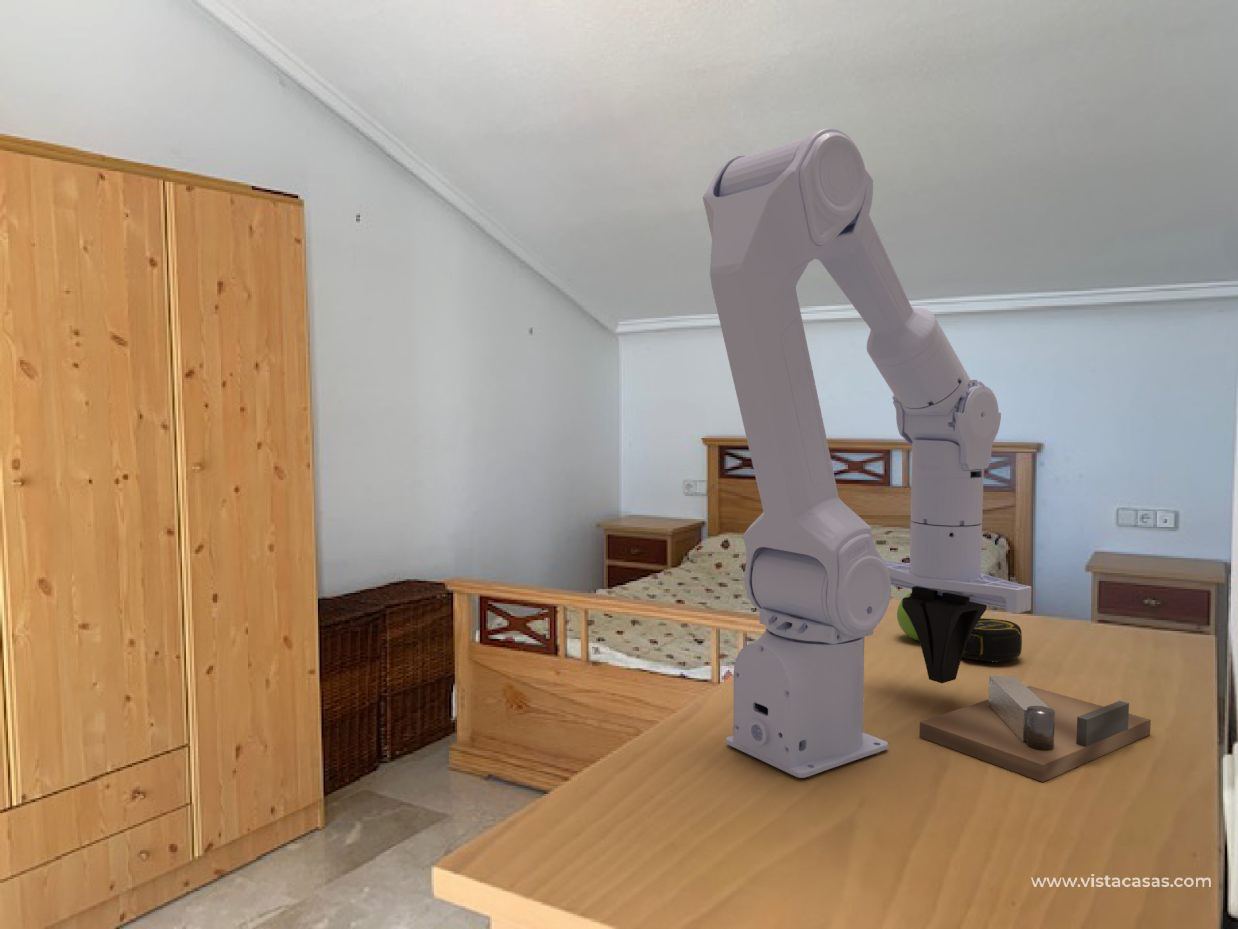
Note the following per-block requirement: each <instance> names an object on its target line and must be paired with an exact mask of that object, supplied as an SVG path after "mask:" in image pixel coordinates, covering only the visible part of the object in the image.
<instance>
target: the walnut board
mask: <svg viewBox="0 0 1238 929" xmlns="http://www.w3.org/2000/svg"><path fill="white" fill-rule="evenodd" d="M1026 687H1027V688H1028V689H1029V690H1030V691H1032V692H1033V693H1034V694H1035V695H1036V696H1037V697H1038V698H1039V699H1040V700H1042V701H1043V702H1044V703H1045V704H1046V705H1047V706H1048V707H1049V708H1051V709H1053V710H1054V711H1055V728H1054V748H1053V749H1051V750H1038V749H1034V748H1031V747H1029V746H1028V745H1027V744H1026V742H1022V740H1021V739H1020V738H1019V737H1018V736H1017V735H1016V734H1015V733H1014V732H1013V731H1012V730H1011V729H1010V727H1009V726H1008V725H1007V724H1006V723H1005V722H1004V721H1003V720H1002V719H1001V718H1000V717H999V716H998V714H997V713H996V712H995V711H994V710H993V709H992V708H991V707H990V706H989V698H988V699H985V700H983V701H979V702H977V703H973V704H971V705H967V706H963V707H961V708H959V709H955V710H952V711H949V712H946V713H943V714H939V715H937V716H934V717H931V718H928V719H925V720H921V721H919V738H921V739H924V740H926V741H929V742H932V743H934V744H937V745H940V746H943V747H946V748H949V749H951V750H954V751H956V752H960V753H962V754H964V755H968V756H970V757H973V758H976V759H978V760H982V761H983V762H987V763H989V764H992V765H994V766H998V767H1000V768H1002V769H1005V770H1009V771H1011V772H1014V773H1017V774H1020V775H1023V776H1025V777H1028V778H1030V779H1033V780H1036V781H1038V782H1041V783H1044V782H1047V781H1049V780H1051V779H1053V778H1055V777H1057V776H1061V775H1062V774H1065V773H1067V772H1069V771H1071V770H1074V769H1076V768H1078V767H1081V766H1083V765H1085V764H1087V763H1089V762H1092V761H1093V760H1094V761H1095V760H1097V759H1098V758H1100V757H1103V756H1105V755H1108V754H1109V753H1113V752H1114V751H1116V750H1118V749H1121V748H1123V747H1125V746H1128V745H1130V744H1132V743H1134V742H1136V741H1139V740H1142V739H1143V738H1146V737H1148V736H1151V722H1152V720H1151V719H1150V718H1148V717H1147V718H1146V717H1142V716H1139V715H1135V714H1132V713H1129V711H1130V703H1129V702H1125V701H1122V700H1118V701H1116V702H1113V703H1110V704H1107V705H1104V706H1103V705H1099V704H1095V703H1092V702H1090V701H1089V702H1088V701H1085V700H1081V699H1078V698H1074V697H1070V696H1067V695H1063V694H1061V693H1057V692H1052V691H1050V690H1045V689H1042V688H1039V687H1035V686H1031V685H1028V686H1026Z"/></svg>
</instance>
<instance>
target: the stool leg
mask: <svg viewBox="0 0 1238 929" xmlns="http://www.w3.org/2000/svg"><path fill="white" fill-rule="evenodd" d="M988 677H989V678H988V679H989V680H988V699H989V706H990V707H991V708H992V709H993V710H994V711H995V712H996V713H997V714H998V716H999V717H1000V718H1001V719H1002V720H1003V721H1004V722H1005V723H1006V724H1007V725H1008V726H1009V727H1010V729H1011V730H1012V731H1013V732H1014V733H1015V734H1016V735H1017V736H1018V737H1019V738H1020V739H1021V740H1022V742H1026V744H1027V745H1028V746H1029V747H1031V748H1034V749H1038V750H1051V749H1053V748H1054V728H1055V711H1054V710H1053V709H1051V708H1049V707H1048V706H1047V705H1046V704H1045V703H1044V702H1043V701H1042V700H1040V699H1039V698H1038V697H1037V696H1036V695H1035V694H1034V693H1033V692H1032V691H1030V690H1029V689H1028V688H1027V687H1028V686H1026V685H1025V684H1024V683H1023V682H1021V680H1019V679H1018V678H1017V677H1016V676H1007V675H1004V676H1003V675H989V676H988Z"/></svg>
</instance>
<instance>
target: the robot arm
mask: <svg viewBox="0 0 1238 929" xmlns="http://www.w3.org/2000/svg"><path fill="white" fill-rule="evenodd" d="M873 195H874V180H873V178H872V176H871V174H870V173H869V172H868V171H867V169H866V166H865V162H864V159H863V157H862V155H861V152H860V150H859V148H858V146H857V145H856V143H855V142H854V140H853V139H851V137H849V135H847V133H845V132H844V131H842V130H840V129H838V128H831V127H826V128H822V129H819V130H817V131H815V132H814V133H812V134H809V135H807V136H805V137H801V138H799V139H795V140H793V141H789V142H786V143H782V144H779V145H776V146H773V147H770V148H766V149H763V150H761V151H757V152H754V153H750V154H748V155H737V156H733V157H732V158H730V159H728V160H726V161H725V162H724V163H723V164H722V165H721V166H720V167H719V169H718V170H717V172H716V174H715V175H714V177H713V178H712V181H711V182H710V184H709V185H708V188H707V189H706V191H705V193H704V194H703V196H702V199H703V205H704V210H705V215H706V218H707V223H708V226H709V230H710V236H711V248H710V250H711V251H710V252H711V254H710V265H709V276H710V277H709V278H710V284H711V289H712V290H711V291H712V294H713V298H714V302H715V306H716V311H717V314H718V315H717V316H718V319H719V320H718V321H719V323H720V324H719V325H720V328H721V332H722V338H723V340H724V341H723V342H724V345H725V349H726V354H727V358H728V363H729V367H730V372H731V376H732V380H733V384H734V390H735V393H736V398H737V403H738V406H739V411H740V415H741V419H742V424H743V428H744V433H745V436H746V442H747V446H748V450H749V451H748V452H749V454H750V459H751V464H752V467H753V471H754V477H755V481H756V484H757V490H758V494H759V498H760V503H761V506H762V511H763V512H762V513H761V514H760V515H759V516H758V517H757V518H756V519H755V520H754V521H753V522H752V523H751V524H750V525H749V526H748V528H746V531H745V532H744V533H743V536H742V537H743V543H744V547H745V553H746V555H745V557H746V560H745V569H744V580H743V581H744V587H745V592H746V595H747V598H748V599H749V602H750V604H752V605H753V607H754V608H755V609H757V610H758V611H759V624H761V625H763V626H765V627H766V629H764V632H763V633H762V635H761V636H760V637H759V638H758V639H756V640H755V641H753V642H750V643H748V644H746V645H745V646H743V647H742V648H741V649H740V651H739V652H738V654H737V656H736V658H735V662H734V667H733V719H732V720H733V723H732V724H733V728H732V730H733V732H732V735H728V736H727V737H726V738H725V743H726V745H728V746H729V747H732V748H734V749H736V750H738V751H740V752H742V753H745V754H747V755H748V756H751V757H753V758H755V759H757V760H760V761H761V762H764V763H766V764H768V765H770V766H773V767H774V768H777V769H779V770H781V771H782V772H785V773H787V774H789V775H791V776H794V777H796V778H799V779H804V778H808V777H811V776H814V775H816V774H819V773H823V772H825V771H828V770H830V769H834V768H836V767H840V766H842V765H846V764H848V763H851V762H854V761H856V760H857V761H858V760H860V759H863V758H865V757H869V756H871V755H875V754H878V753H880V752H883V751H886V750H888V749H889V742H888V741H886V740H884V739H881V738H878V737H876V736H874V735H870V734H868V733H866V732H864V694H865V693H864V691H865V690H864V682H865V680H864V679H865V675H864V674H865V638H867V637H870V636H873V635H874V630H875V629H876V628H877V627H878V625H879V624H880V623H881V621H882V620H883V618H884V617H885V614H886V613H887V611H888V608H889V604H890V601H891V597H892V596H891V593H892V586H894V587H899V588H902V589H908V590H911V592H910V593H911V594H910V593H909V594H910V597H906V598H904V597H903V598H902V599H901V601H902V607H903V609H904V610H905V612H906V613H907V615H908V617H909V619H910V621H911V623H912V625H913V627H914V629H915V631H916V634H917V636H918V639H919V641H918V642H919V644H920V647H921V653H922V655H923V659H924V663H925V667H926V671H927V673H926V674H927V676H928V680H929V681H933V682H937V683H940V684H945V683H949V682H952V681H955V680H956V679H957V676H958V671H959V668H960V665H961V661H962V657H963V656H962V655H963V652H964V649H965V647H966V644H967V642H968V640H969V637H970V635H971V633H972V631H973V629H974V628H975V626H976V624H977V623H978V621H979V619H980V618H981V617H982V616H983V615H984V613H985V612H986V610H987V607H988V606H989V607H995V608H1000V609H1005V612H1008V613H1012V614H1020V613H1024V612H1028V611H1031V610H1032V586H1030V585H1025V584H1021V583H1017V582H1013V581H1009V580H1006V579H1002V578H998V577H995V576H991V575H988V574H985V573H982V545H983V544H982V542H983V539H982V538H983V537H982V536H983V514H984V513H983V509H984V508H983V507H984V506H983V505H984V504H983V503H984V474H985V473H984V470H986V469H988V468H989V467H990V462H992V450H993V449H992V448H993V444H994V442H995V440H996V437H997V435H998V432H999V430H1000V425H1001V419H1002V413H1001V412H999V404H998V400H997V397H996V395H995V393H994V392H993V390H992V389H991V388H989V387H988V386H986V385H985V384H984V383H983V382H981V381H978V380H977V379H971V378H970V376H969V375H968V373H967V371H966V369H965V367H964V366H963V364H962V362H961V360H960V359H959V357H958V355H957V353H956V351H955V350H954V348H953V346H952V344H951V342H950V341H949V338H948V337H947V335H946V334H945V332H944V331H943V329H942V327H941V325H940V324H939V321H938V320H937V319H936V316H935V314H934V313H933V312H932V311H931V310H928V309H926V308H921V307H913V306H912V305H911V303H910V300H909V298H908V296H907V294H906V292H905V290H904V288H903V285H902V283H901V281H900V279H899V277H898V274H897V272H896V270H895V268H894V266H893V264H892V262H891V259H890V257H889V255H888V252H887V251H886V248H885V246H884V244H883V242H882V240H881V238H880V235H879V234H878V230H877V229H876V226H875V225H874V222H873V219H872V217H871V216H870V211H871V209H872V204H873V203H872V202H873V197H874V196H873ZM814 260H818V261H819V262H820V263H821V264H822V266H823V267H824V268H825V269H826V272H827V273H828V274H829V275H830V276H831V278H832V279H833V280H834V282H835V284H836V285H837V286H838V287H839V288H840V290H841V291H842V293H843V295H844V296H846V298H847V299H848V301H849V302H850V304H852V307H854V310H856V312H857V313H858V314H859V316H860V317H861V318H862V320H863V322H865V323H866V324H867V326H868V328H869V329H870V331H869V333H868V334H869V335H868V338H867V340H866V353H867V354H868V355H869V357H870V359H871V360H872V362H873V364H874V365H875V367H876V369H877V370H878V371H879V373H880V375H881V376H882V378H883V380H884V381H885V383H886V384H887V385H888V387H889V389H890V390H891V392H892V394H893V395H892V400H893V402H892V404H893V406H894V407H895V412H896V413H895V414H896V418H895V419H896V428H897V430H898V433H899V435H900V436H901V437H902V438H903V439H904V440H905V442H907V443H908V444H909V445H911V475H910V476H911V478H910V480H911V481H910V482H911V483H910V528H909V529H910V531H909V532H910V536H909V539H910V541H909V562H900V561H893V560H886V559H884V558H883V556H882V555H881V554H880V552H879V551H878V549H877V546H876V544H875V540H874V537H873V531H872V528H871V527H870V525H869V524H868V523H867V522H866V521H865V520H864V519H862V518H861V517H860V515H858V514H857V513H856V512H854V511H853V510H852V509H851V508H850V507H849V506H848V505H847V504H846V503H845V502H843V500H841V498H840V497H839V492H838V488H837V482H836V478H835V472H834V467H833V464H832V457H831V454H830V449H829V445H828V439H827V434H826V429H825V423H824V418H823V415H822V410H821V405H820V401H819V400H820V399H819V396H818V390H817V386H816V381H815V376H814V372H813V366H812V362H811V356H810V352H809V346H808V342H807V336H806V332H805V326H804V323H803V322H804V321H803V318H802V317H803V316H802V314H801V307H800V302H799V297H798V294H797V285H798V283H799V281H800V279H801V277H802V275H803V274H804V272H805V270H806V269H807V267H808V265H809V264H810V263H811V262H812V261H814Z"/></svg>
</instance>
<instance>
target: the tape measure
mask: <svg viewBox="0 0 1238 929" xmlns="http://www.w3.org/2000/svg"><path fill="white" fill-rule="evenodd" d="M1022 646H1023V635H1022V629H1021V627H1020V626H1019V625H1018V624H1017V623H1015V622H1013V621H1009V620H1005V619H998V618H997V619H996V618H995V619H994V618H980V619H979V621H978V623H977V624H976V626H975V628H974V629H973V631H972V633H971V635H970V637H969V640H968V642H967V644H966V647H965V649H964V652H963V655H962V657H963V658H966V659H969V660H970V659H971V660H976V661H982V662H983V661H985V662H986V661H987V662H990V661H993V662H995V663H998V662H997V661H1000V662H1004V661H1005V660H1006V661H1010V660H1014V659H1016V658H1019V657H1020V656H1021V654H1022V648H1023V647H1022ZM993 662H992V663H993Z"/></svg>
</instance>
